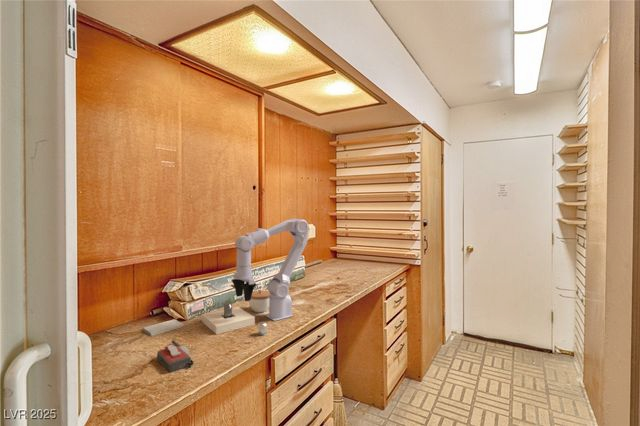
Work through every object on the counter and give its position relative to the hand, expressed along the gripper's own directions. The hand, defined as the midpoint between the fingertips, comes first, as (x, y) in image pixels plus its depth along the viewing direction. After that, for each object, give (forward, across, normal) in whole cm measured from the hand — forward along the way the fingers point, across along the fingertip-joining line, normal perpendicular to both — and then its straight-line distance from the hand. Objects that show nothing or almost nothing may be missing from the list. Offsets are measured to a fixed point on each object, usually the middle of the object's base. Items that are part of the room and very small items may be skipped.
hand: (243, 298), depth 131 cm
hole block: (+10, -4, -5) cm, 12 cm away
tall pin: (+10, -4, -5) cm, 12 cm away
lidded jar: (+11, -10, +13) cm, 20 cm away
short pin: (+10, +14, +1) cm, 17 cm away
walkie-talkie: (+11, +13, -30) cm, 35 cm away
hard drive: (+11, -14, -27) cm, 33 cm away
